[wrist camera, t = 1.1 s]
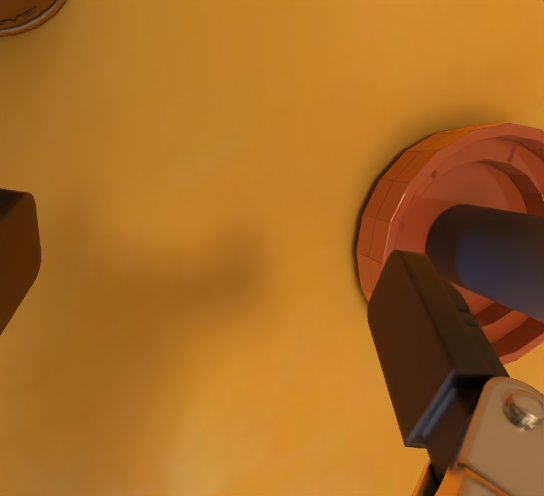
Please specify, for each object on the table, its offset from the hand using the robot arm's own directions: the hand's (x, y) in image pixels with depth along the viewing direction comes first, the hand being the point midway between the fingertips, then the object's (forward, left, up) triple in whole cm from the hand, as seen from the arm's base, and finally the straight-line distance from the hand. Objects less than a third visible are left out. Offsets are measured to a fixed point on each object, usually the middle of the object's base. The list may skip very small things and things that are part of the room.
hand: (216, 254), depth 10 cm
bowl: (+8, +19, -18) cm, 27 cm away
